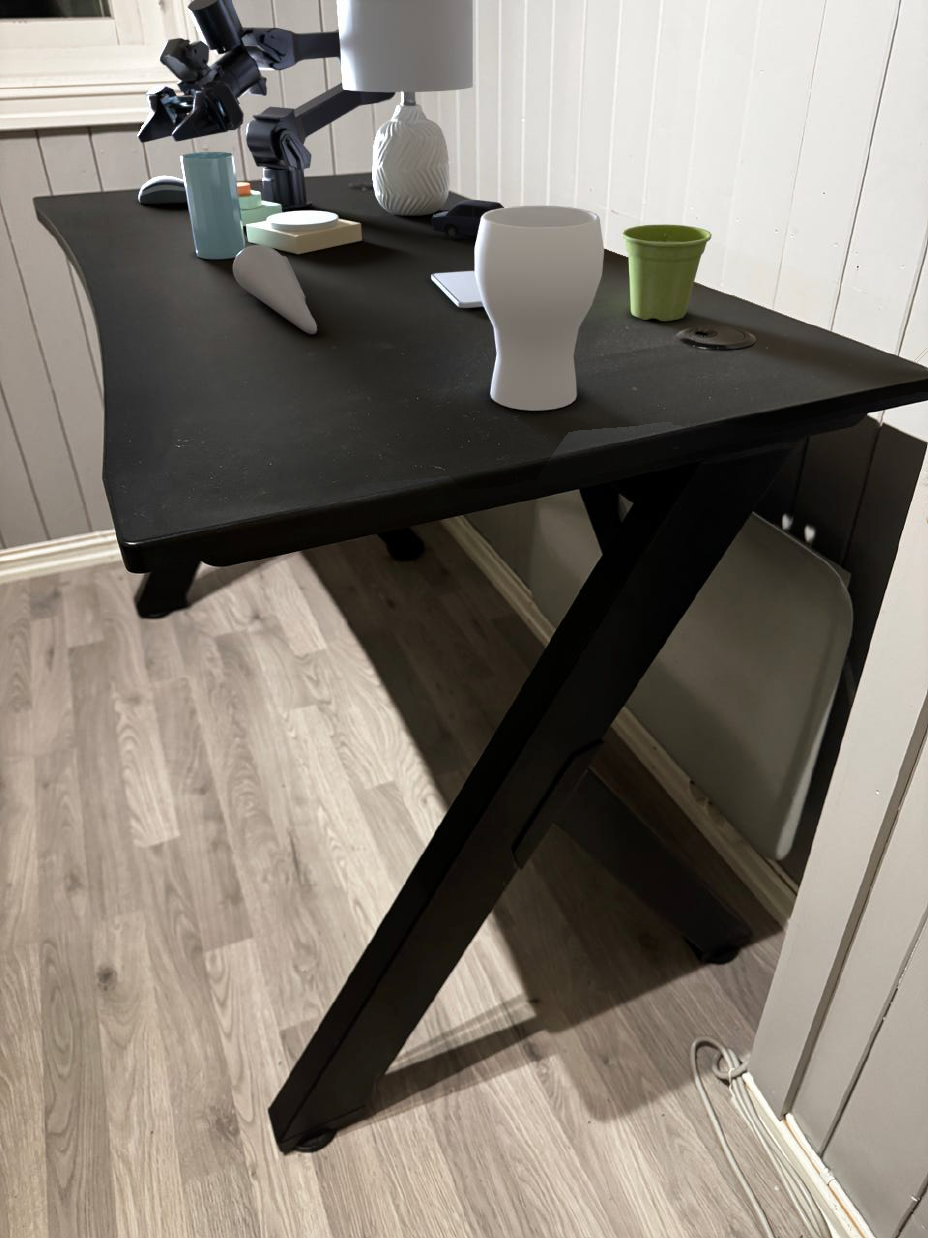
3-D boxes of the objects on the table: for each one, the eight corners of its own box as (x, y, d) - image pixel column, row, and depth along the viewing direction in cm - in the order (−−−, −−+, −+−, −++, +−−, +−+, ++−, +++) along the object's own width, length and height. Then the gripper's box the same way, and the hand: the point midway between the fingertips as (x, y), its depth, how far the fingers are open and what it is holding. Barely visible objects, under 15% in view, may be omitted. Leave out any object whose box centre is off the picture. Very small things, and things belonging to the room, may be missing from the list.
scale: (311, 229, 141) (309, 206, 140) (362, 240, 135) (360, 216, 133) (247, 241, 134) (244, 217, 132) (297, 254, 127) (295, 229, 126)
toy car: (516, 246, 130) (517, 209, 128) (428, 236, 136) (427, 200, 133) (532, 238, 135) (534, 202, 132) (447, 229, 140) (446, 194, 138)
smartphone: (485, 269, 117) (521, 298, 105) (485, 274, 117) (520, 304, 105) (429, 273, 115) (459, 303, 103) (429, 278, 116) (459, 309, 103)
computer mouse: (209, 202, 161) (205, 177, 158) (137, 205, 159) (132, 180, 156) (209, 195, 166) (206, 171, 164) (140, 198, 164) (136, 174, 162)
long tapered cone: (258, 356, 95) (233, 292, 109) (318, 356, 98) (286, 293, 111) (259, 302, 92) (232, 243, 106) (321, 304, 94) (287, 245, 108)
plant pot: (649, 331, 97) (658, 246, 92) (599, 309, 104) (605, 229, 99) (717, 319, 100) (730, 236, 95) (664, 299, 107) (673, 220, 102)
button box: (254, 212, 153) (250, 186, 151) (283, 218, 148) (280, 192, 146) (203, 221, 147) (199, 194, 145) (231, 228, 142) (227, 200, 140)
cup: (514, 368, 87) (519, 199, 79) (613, 389, 82) (629, 212, 74) (451, 401, 80) (448, 219, 72) (555, 427, 75) (565, 235, 67)
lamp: (417, 197, 164) (408, -56, 143) (497, 211, 152) (501, -62, 131) (327, 212, 152) (304, -61, 132) (407, 229, 140) (395, -68, 120)
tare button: (242, 193, 148) (241, 181, 147) (256, 195, 146) (254, 183, 145) (224, 196, 146) (222, 184, 145) (237, 198, 143) (235, 186, 142)
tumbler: (227, 245, 132) (214, 150, 125) (255, 253, 128) (242, 154, 121) (187, 253, 128) (170, 155, 121) (214, 261, 124) (198, 160, 117)
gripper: (161, 31, 139) (89, 86, 134) (234, 19, 128) (159, 79, 123) (201, 104, 148) (135, 159, 142) (272, 99, 137) (204, 158, 131)
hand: (156, 138), depth 134 cm, fingers open, 9 cm apart
